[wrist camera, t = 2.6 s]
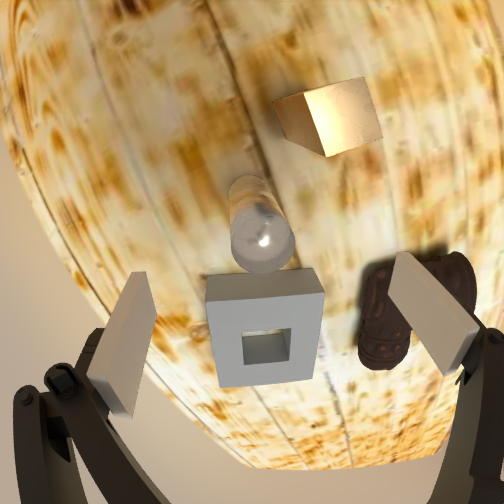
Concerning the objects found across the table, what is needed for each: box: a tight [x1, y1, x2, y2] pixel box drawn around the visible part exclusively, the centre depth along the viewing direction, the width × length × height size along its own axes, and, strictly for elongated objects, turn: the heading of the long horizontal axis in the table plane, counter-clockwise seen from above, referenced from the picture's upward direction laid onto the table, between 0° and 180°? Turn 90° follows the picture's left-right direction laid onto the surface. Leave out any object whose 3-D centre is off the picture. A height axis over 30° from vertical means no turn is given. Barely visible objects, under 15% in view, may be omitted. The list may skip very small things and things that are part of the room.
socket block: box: [205, 268, 325, 388], centre depth 34 cm, size 14×12×5 cm
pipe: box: [358, 251, 477, 370], centre depth 34 cm, size 10×15×15 cm
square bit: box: [272, 77, 383, 157], centre depth 20 cm, size 4×4×12 cm
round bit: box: [229, 175, 295, 274], centre depth 24 cm, size 4×4×12 cm
